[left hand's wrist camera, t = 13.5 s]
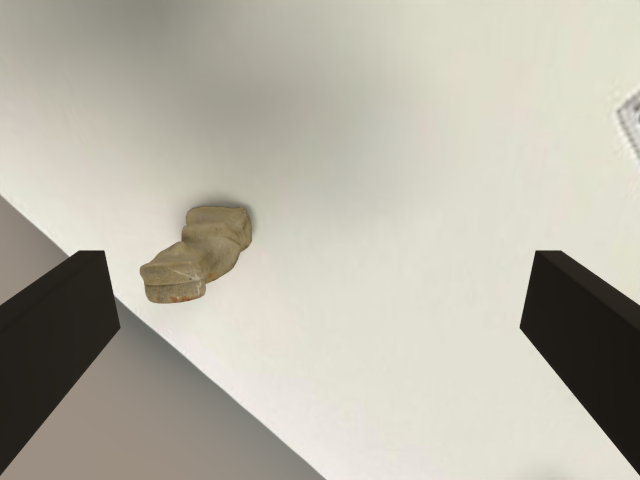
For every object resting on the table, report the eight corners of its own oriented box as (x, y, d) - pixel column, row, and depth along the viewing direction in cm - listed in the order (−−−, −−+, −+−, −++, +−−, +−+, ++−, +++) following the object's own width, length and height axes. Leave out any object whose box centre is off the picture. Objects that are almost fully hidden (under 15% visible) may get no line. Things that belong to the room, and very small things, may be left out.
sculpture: (188, 197, 44) (127, 249, 30) (253, 197, 44) (222, 248, 30) (194, 246, 47) (140, 316, 33) (257, 246, 46) (229, 315, 32)
